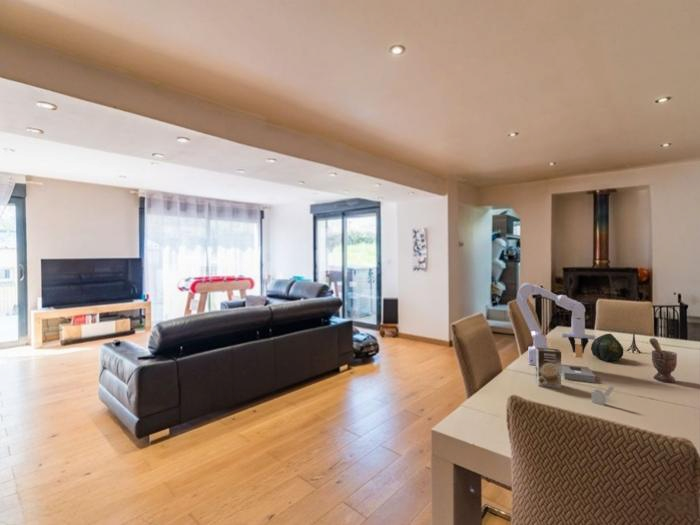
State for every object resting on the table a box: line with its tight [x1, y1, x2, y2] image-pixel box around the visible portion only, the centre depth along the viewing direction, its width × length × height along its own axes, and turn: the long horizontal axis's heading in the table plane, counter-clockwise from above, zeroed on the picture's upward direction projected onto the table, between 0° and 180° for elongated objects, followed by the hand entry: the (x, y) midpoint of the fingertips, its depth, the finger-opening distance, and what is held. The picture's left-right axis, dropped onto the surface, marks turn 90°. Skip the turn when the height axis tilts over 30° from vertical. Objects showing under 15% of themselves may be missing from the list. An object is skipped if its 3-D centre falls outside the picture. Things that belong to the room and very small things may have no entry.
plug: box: [573, 343, 583, 359], centre depth 176 cm, size 3×4×6 cm
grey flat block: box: [561, 363, 596, 383], centre depth 166 cm, size 12×14×3 cm
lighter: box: [591, 384, 615, 406], centre depth 134 cm, size 7×2×8 cm, turn 43°
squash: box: [590, 333, 624, 362], centre depth 192 cm, size 14×15×15 cm
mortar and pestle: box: [649, 337, 678, 384], centre depth 158 cm, size 12×9×20 cm
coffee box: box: [535, 347, 562, 389], centre depth 155 cm, size 9×6×16 cm
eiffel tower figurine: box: [626, 331, 642, 354], centre depth 206 cm, size 15×10×13 cm
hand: (578, 352), depth 176 cm, fingers closed on plug, 3 cm apart
